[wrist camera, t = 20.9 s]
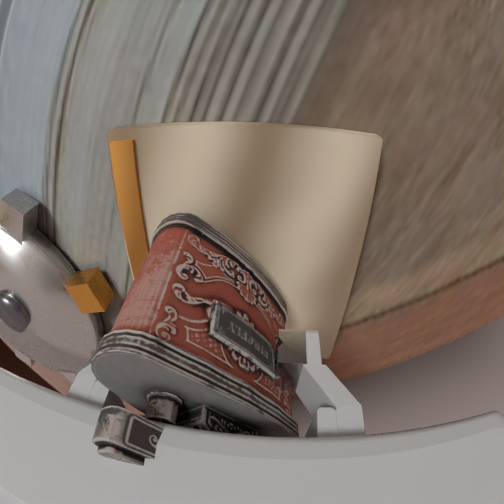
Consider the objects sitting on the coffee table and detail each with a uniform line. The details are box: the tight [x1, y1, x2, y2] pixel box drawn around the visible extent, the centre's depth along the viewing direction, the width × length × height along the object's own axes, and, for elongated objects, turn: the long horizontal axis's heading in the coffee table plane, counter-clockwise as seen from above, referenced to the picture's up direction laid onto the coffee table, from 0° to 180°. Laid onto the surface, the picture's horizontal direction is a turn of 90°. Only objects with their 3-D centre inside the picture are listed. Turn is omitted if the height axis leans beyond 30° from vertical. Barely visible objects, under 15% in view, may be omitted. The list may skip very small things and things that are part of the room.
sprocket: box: [0, 188, 115, 384], centre depth 16 cm, size 20×20×8 cm
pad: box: [107, 122, 383, 359], centre depth 16 cm, size 12×14×1 cm
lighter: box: [91, 212, 299, 466], centre depth 10 cm, size 8×3×10 cm, turn 40°
